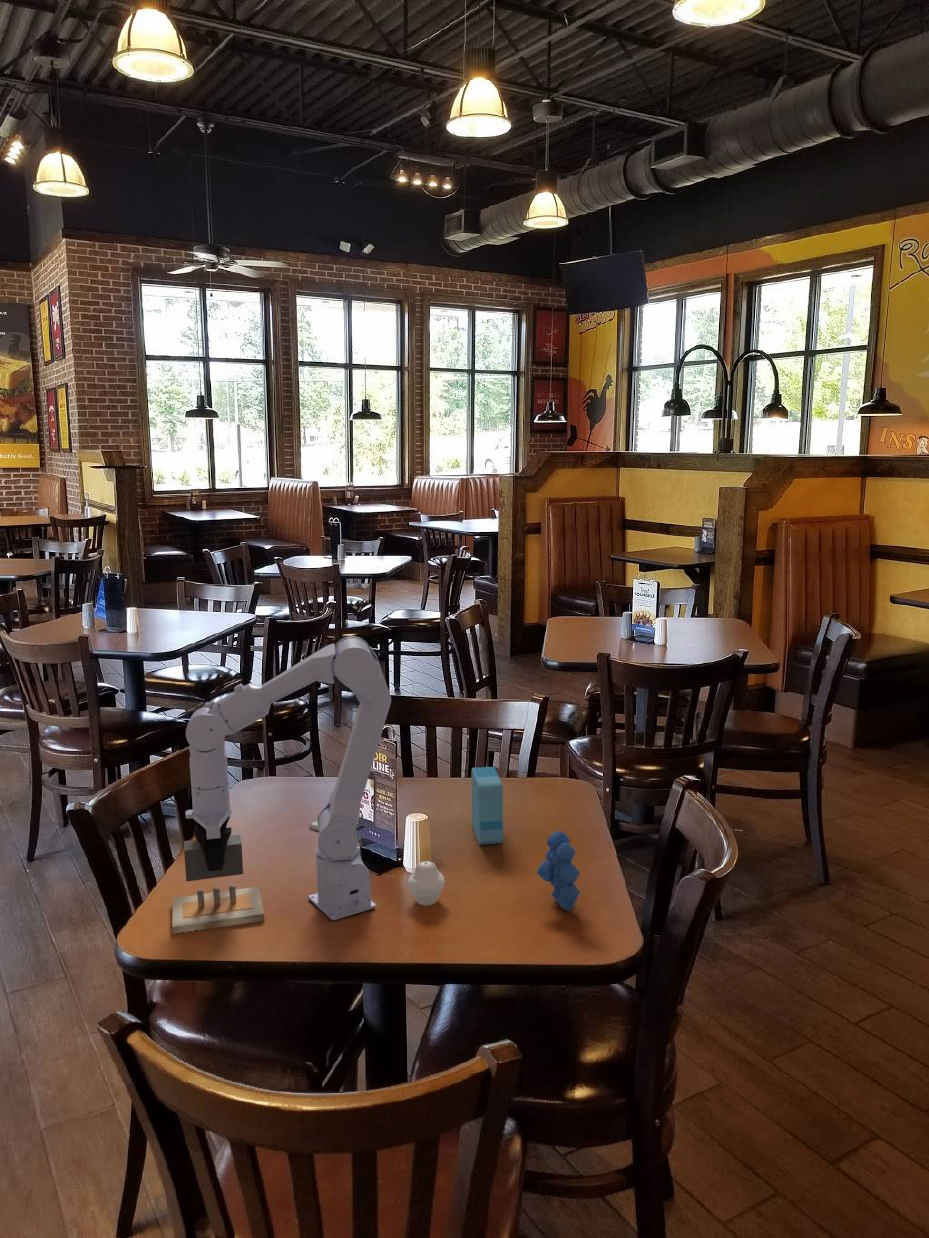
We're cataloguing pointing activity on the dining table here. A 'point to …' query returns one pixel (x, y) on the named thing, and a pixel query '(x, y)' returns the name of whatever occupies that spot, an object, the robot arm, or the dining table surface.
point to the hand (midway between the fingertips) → (214, 864)
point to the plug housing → (197, 863)
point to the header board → (217, 909)
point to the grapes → (560, 870)
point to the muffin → (426, 883)
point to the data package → (487, 805)
